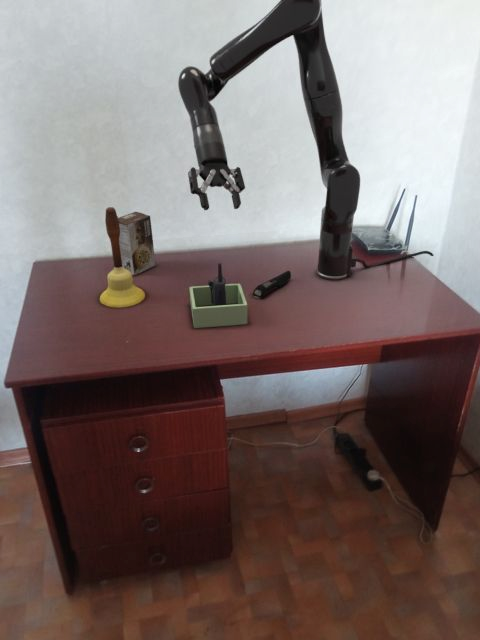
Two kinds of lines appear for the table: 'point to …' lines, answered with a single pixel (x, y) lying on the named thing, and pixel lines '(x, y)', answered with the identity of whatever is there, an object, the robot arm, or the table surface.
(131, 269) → the coffee box
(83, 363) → the table surface
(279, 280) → the electric trimmer
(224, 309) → the square frame
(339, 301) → the table surface
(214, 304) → the two-way radio
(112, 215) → the handbell
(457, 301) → the table surface
